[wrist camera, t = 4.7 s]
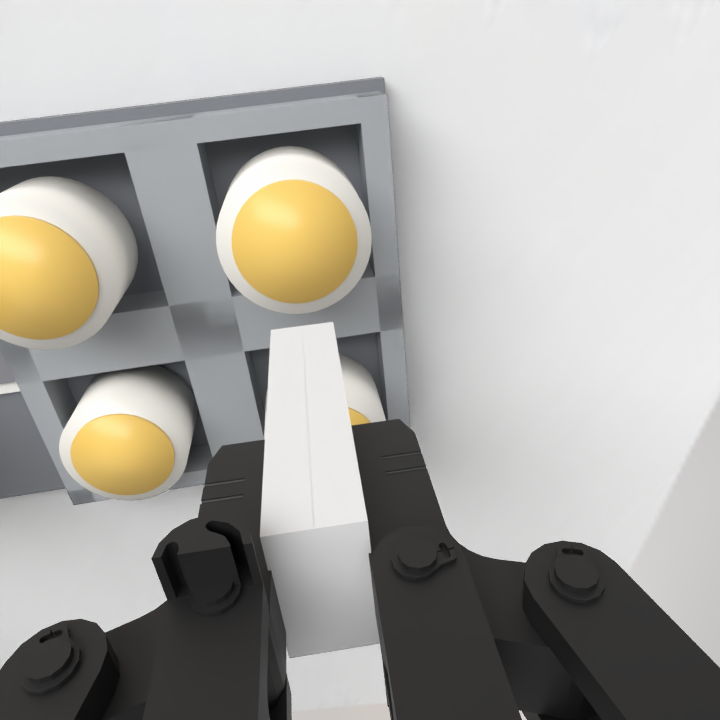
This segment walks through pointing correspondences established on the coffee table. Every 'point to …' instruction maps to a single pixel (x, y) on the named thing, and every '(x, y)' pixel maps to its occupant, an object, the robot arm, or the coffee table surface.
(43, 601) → the coffee table surface
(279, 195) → the button
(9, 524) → the coffee table surface
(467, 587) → the robot arm
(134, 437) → the button
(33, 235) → the button
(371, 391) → the button
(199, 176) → the board
